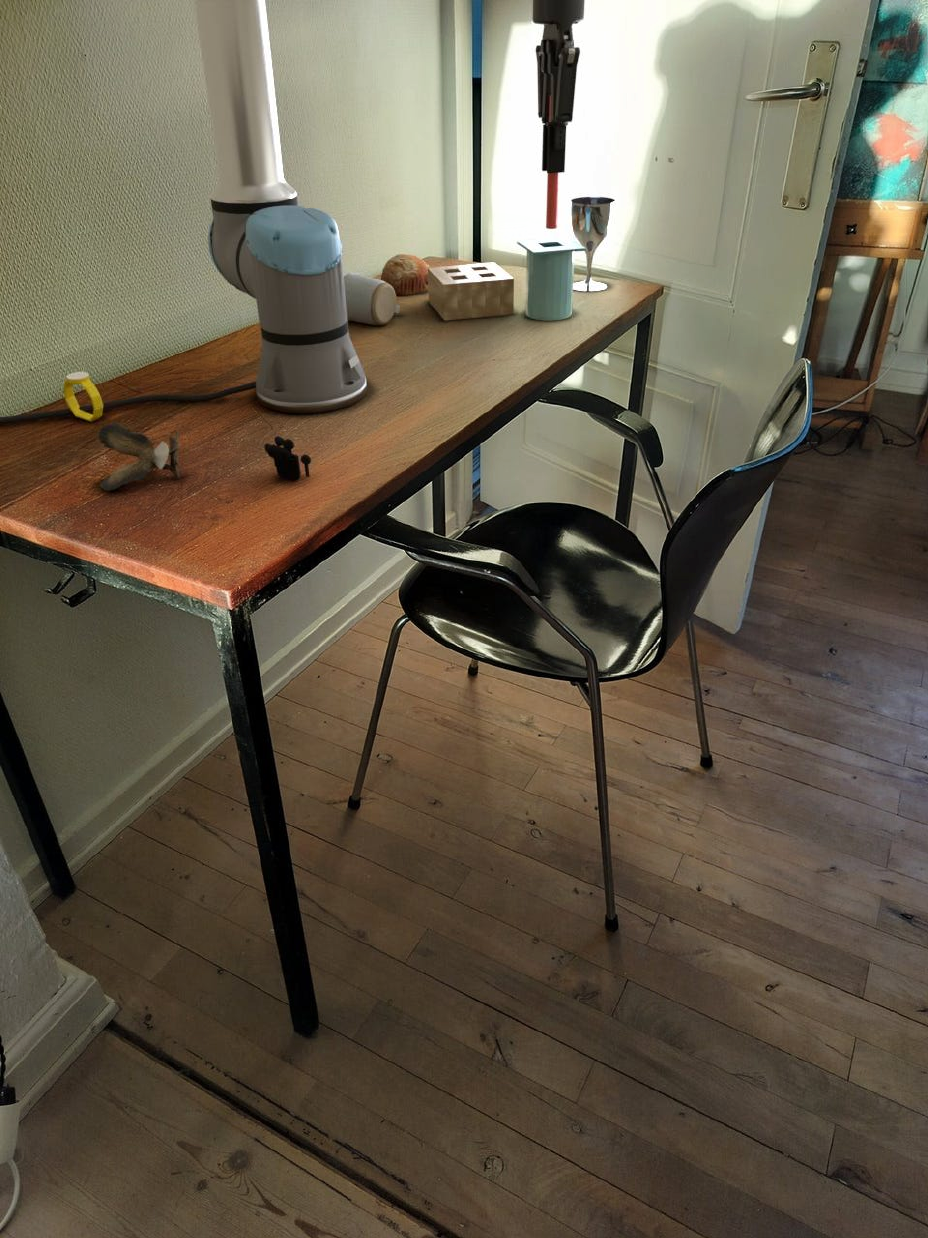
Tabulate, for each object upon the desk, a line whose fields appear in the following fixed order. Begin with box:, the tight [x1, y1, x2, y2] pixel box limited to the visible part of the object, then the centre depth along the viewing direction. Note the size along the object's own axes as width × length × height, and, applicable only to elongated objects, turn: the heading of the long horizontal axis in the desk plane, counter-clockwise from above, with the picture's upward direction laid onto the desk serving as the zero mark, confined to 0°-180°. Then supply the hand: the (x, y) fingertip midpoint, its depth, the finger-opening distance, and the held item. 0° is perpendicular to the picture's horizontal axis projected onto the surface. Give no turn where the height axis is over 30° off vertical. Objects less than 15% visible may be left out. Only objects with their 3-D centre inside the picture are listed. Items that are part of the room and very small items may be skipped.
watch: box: [62, 371, 104, 423], centre depth 118 cm, size 6×3×6 cm, turn 58°
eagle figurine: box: [97, 422, 180, 492], centre depth 102 cm, size 8×7×9 cm
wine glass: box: [569, 196, 616, 292], centre depth 166 cm, size 8×8×15 cm
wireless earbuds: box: [264, 435, 312, 482], centre depth 102 cm, size 7×2×5 cm, turn 55°
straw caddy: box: [427, 262, 515, 321], centre depth 158 cm, size 12×12×6 cm
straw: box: [545, 95, 560, 230], centre depth 143 cm, size 2×2×19 cm
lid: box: [516, 236, 586, 255], centre depth 150 cm, size 9×9×1 cm
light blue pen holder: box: [525, 244, 576, 322], centre depth 153 cm, size 8×8×11 cm
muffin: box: [380, 253, 431, 296], centre depth 171 cm, size 10×10×8 cm
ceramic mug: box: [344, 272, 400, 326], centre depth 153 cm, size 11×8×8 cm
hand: (553, 170), depth 143 cm, fingers closed on straw, 2 cm apart
